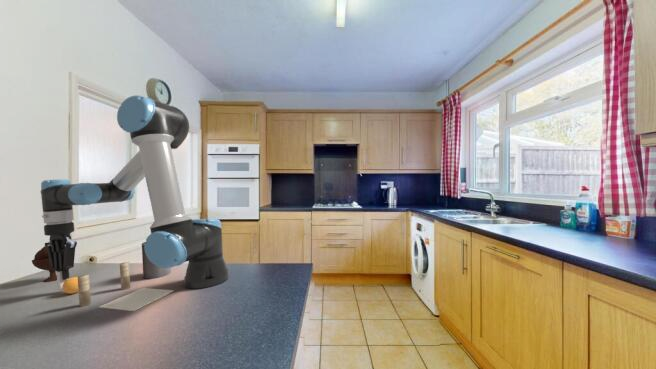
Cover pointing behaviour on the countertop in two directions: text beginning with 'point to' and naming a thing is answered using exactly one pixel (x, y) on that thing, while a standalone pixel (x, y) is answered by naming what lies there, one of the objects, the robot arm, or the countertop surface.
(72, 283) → the ball
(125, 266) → the right post
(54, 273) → the ice cream bowl
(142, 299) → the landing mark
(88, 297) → the left post
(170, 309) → the countertop surface
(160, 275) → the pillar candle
